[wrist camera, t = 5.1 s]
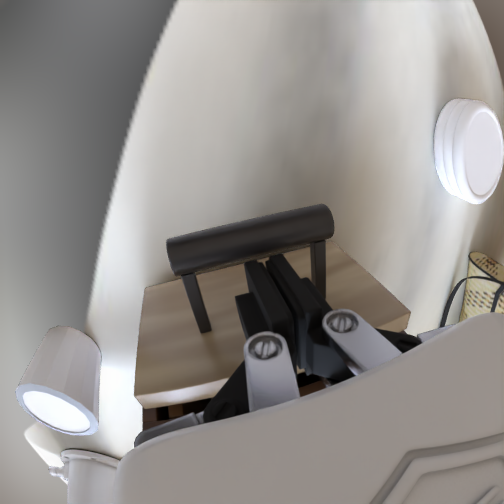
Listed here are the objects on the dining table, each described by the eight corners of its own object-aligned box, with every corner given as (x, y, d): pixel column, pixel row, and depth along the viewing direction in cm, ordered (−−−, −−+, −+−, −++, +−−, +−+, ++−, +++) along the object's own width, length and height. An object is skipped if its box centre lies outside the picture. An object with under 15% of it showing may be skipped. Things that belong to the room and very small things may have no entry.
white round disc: (419, 111, 18) (451, 115, 14) (471, 89, 17) (497, 92, 14) (439, 210, 22) (465, 223, 19) (485, 173, 22) (507, 182, 19)
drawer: (119, 218, 15) (74, 305, 8) (329, 172, 17) (428, 216, 10) (206, 413, 25) (221, 486, 18) (327, 377, 27) (363, 441, 20)
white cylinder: (61, 376, 20) (48, 434, 14) (26, 323, 17) (-2, 383, 11) (119, 372, 21) (114, 437, 15) (88, 315, 18) (67, 384, 12)
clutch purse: (444, 261, 26) (538, 336, 13) (476, 235, 26) (563, 294, 13) (426, 382, 40) (467, 434, 27) (451, 361, 41) (494, 409, 27)
